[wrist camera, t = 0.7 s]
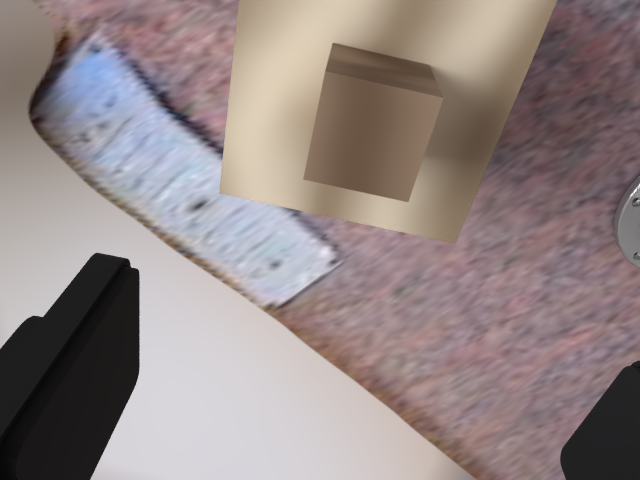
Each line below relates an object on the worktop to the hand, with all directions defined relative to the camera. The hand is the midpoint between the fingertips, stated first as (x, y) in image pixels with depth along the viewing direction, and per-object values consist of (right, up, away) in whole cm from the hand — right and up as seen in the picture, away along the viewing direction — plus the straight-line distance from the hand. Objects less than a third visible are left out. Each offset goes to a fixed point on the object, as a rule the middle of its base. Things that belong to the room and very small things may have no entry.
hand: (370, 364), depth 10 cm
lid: (+1, +10, +15) cm, 18 cm away
